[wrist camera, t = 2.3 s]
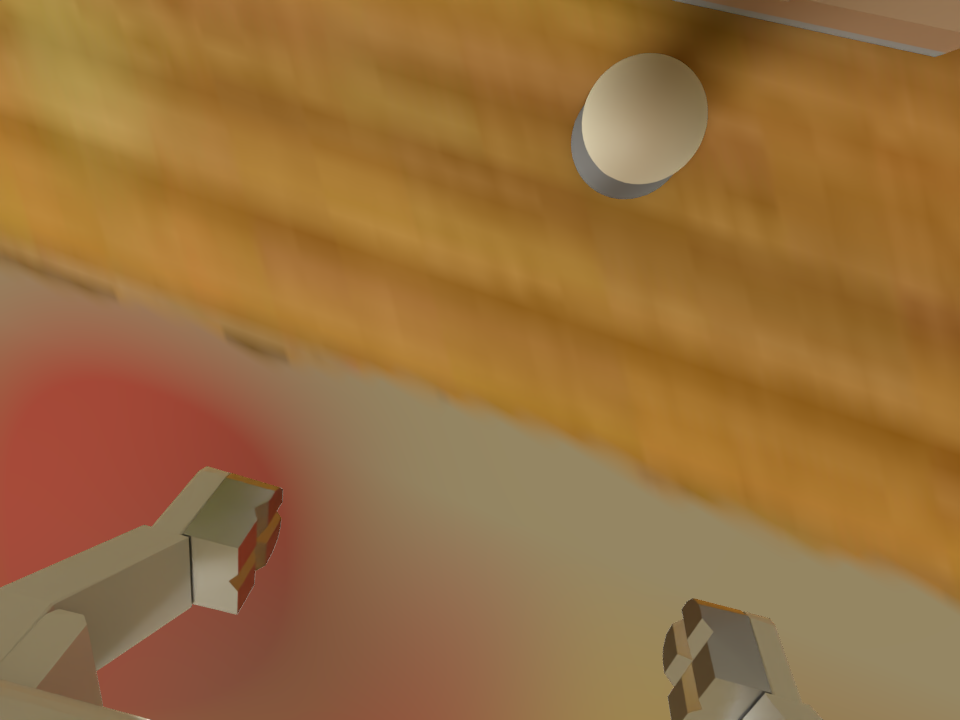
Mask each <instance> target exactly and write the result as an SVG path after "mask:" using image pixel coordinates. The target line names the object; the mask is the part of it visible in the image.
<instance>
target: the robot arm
mask: <svg viewBox="0 0 960 720" xmlns="http://www.w3.org/2000/svg"><path fill="white" fill-rule="evenodd" d="M282 500H283V489H281V488H280V487H276V486H273V485H270V484H266V483H263V482H260V481H256V480H253V479H250V478H246V477H243V476H239V475H236V474H233V473H228V472H225V471H221V470H218V469H214V468H211V467H208V466H207V467H205V468H203V469H202V470H200V471H199V472H198V473H197V474H196V475H195V476H194V477H193V479H192V480H191V481H190V482H189V483H188V484H187V486H186V487H185V488H184V489H183V490H182V492H181V493H180V494H179V495H178V496H177V498H176V499H175V500H174V501H173V502H172V504H171V505H170V506H169V507H168V508H167V509H166V511H165V512H164V513H163V514H162V515H161V517H160V518H159V519H158V520H157V521H156V522H155V524H154V525H153V526H152V527H151V526H146V525H143V526H140V527H138V528H136V529H134V530H131V531H129V532H127V533H124V534H122V535H120V536H117V537H115V538H113V539H111V540H109V541H106V542H104V543H101V544H99V545H97V546H95V547H93V548H90V549H88V550H86V551H83V552H81V553H79V554H76V555H74V556H72V557H69V558H67V559H65V560H63V561H60V562H58V563H56V564H53V565H51V566H49V567H47V568H44V569H42V570H40V571H38V572H35V573H33V574H31V575H28V576H26V577H24V578H21V579H19V580H17V581H15V582H12V583H10V584H8V585H5V586H3V587H1V588H0V720H150V719H146V718H142V717H139V716H135V715H131V714H128V713H124V712H120V711H116V710H113V709H109V708H106V707H103V704H102V698H101V693H100V688H99V683H98V678H97V674H96V671H97V670H99V669H100V668H102V667H103V666H105V665H106V664H108V663H109V662H111V661H112V660H113V659H115V658H116V657H118V656H119V655H120V654H122V653H124V652H125V651H127V650H128V649H130V648H131V647H133V646H134V645H136V644H137V643H139V642H140V641H141V640H143V639H145V638H146V637H148V636H149V635H150V634H152V633H153V632H155V631H156V630H158V629H159V628H161V627H162V626H164V625H165V624H167V623H168V622H170V621H171V620H172V619H174V618H176V617H177V616H179V615H180V614H182V613H183V612H184V611H186V610H188V609H189V608H190V607H192V604H195V605H200V606H204V607H208V608H212V609H217V610H221V611H225V612H229V613H233V614H238V612H239V610H240V608H241V607H242V605H243V603H244V602H245V600H246V598H247V597H248V595H249V593H250V591H251V590H252V588H253V586H254V583H255V571H256V570H258V569H260V568H262V567H263V566H265V565H266V563H267V562H268V559H269V558H270V556H271V554H272V552H273V549H274V547H275V545H276V542H277V539H278V536H279V532H280V527H281V517H280V515H279V514H278V512H277V510H278V508H279V507H280V505H281V503H282ZM682 614H683V619H682V620H680V621H678V622H675V623H673V624H672V626H671V627H670V629H669V631H668V632H667V634H666V638H665V642H664V647H663V666H664V673H665V675H666V676H667V678H668V679H669V680H670V682H671V683H672V685H673V686H674V688H673V689H672V691H671V693H670V694H669V696H668V701H669V708H670V714H671V720H823V719H822V718H821V717H820V716H819V715H818V714H817V712H816V711H815V710H814V709H813V708H812V707H811V706H810V705H808V704H805V703H802V701H801V698H800V695H799V692H798V689H797V686H796V684H795V681H794V678H793V675H792V672H791V669H790V667H789V664H788V661H787V658H786V655H785V652H784V650H783V646H782V644H781V641H780V638H779V635H778V632H777V630H776V626H775V624H774V623H773V622H772V620H771V619H770V618H766V617H762V616H759V615H755V614H751V613H747V612H742V611H740V610H737V609H733V608H728V607H725V606H721V605H717V604H713V603H709V602H706V601H702V600H698V599H693V598H692V599H690V600H689V601H687V602H686V604H685V605H684V607H683V608H682Z"/></svg>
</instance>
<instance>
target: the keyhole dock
mask: <svg viewBox="0 0 960 720" xmlns="http://www.w3.org/2000/svg"><path fill="white" fill-rule="evenodd" d="M674 1H678V2H683V3H687V4H692V5H697V6H701V7H706V8H711V9H715V10H720V11H724V12H729V13H734V14H738V15H743V16H748V17H752V18H757V19H762V20H766V21H771V22H775V23H780V24H785V25H789V26H794V27H799V28H803V29H808V30H812V31H817V32H822V33H826V34H831V35H836V36H840V37H845V38H850V39H854V40H859V41H863V42H868V43H873V44H877V45H882V46H887V47H891V48H896V49H900V50H905V51H910V52H914V53H919V54H924V55H928V56H933V57H936V56H939V55H942V54H945V53H948V52H950V51H953V50H956V49H959V48H960V0H674Z"/></svg>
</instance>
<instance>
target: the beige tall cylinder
mask: <svg viewBox="0 0 960 720" xmlns="http://www.w3.org/2000/svg"><path fill="white" fill-rule="evenodd" d="M707 120H708V105H707V99H706V95H705V91H704V89H703V86H702V84H701V82H700V81H699V79H698V77H697V76H696V75H695V73H694V72H693V71H692V70H691V69H690V68H689V67H688V66H687V65H685V64H684V63H682V62H681V61H680V60H677V59H675V58H673V57H671V56H667V55H664V54H658V53H644V54H638V55H634V56H631V57H628V58H626V59H623V60H621V61H620V62H618V63H616V64H615V65H613V66H612V67H611V68H609V69H608V70H607V71H606V72H605V73H604V74H603V75H602V76H601V77H600V78H599V79H598V81H597V82H596V83H595V85H594V86H593V88H592V89H591V91H590V93H589V95H588V97H587V100H586V103H585V105H584V106H583V108H582V109H581V111H580V113H579V115H578V117H577V119H576V121H575V124H574V127H573V132H572V140H571V150H572V156H573V160H574V163H575V166H576V168H577V171H578V172H579V174H580V176H581V177H582V179H583V180H584V181H585V182H586V183H587V184H588V185H589V186H590V187H591V188H592V189H594V190H595V191H597V192H599V193H601V194H603V195H605V196H608V197H611V198H617V199H633V198H637V197H641V196H644V195H647V194H649V193H651V192H653V191H655V190H656V189H658V188H659V187H661V186H662V185H663V184H664V183H665V182H667V181H668V180H669V178H670V177H671V176H672V175H673V174H674V173H675V172H677V171H678V170H680V169H681V168H682V167H683V166H684V165H685V164H686V163H687V162H688V161H689V160H690V159H691V158H692V156H693V155H694V154H695V152H696V151H697V149H698V147H699V146H700V144H701V141H702V139H703V137H704V134H705V130H706V126H707Z"/></svg>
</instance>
